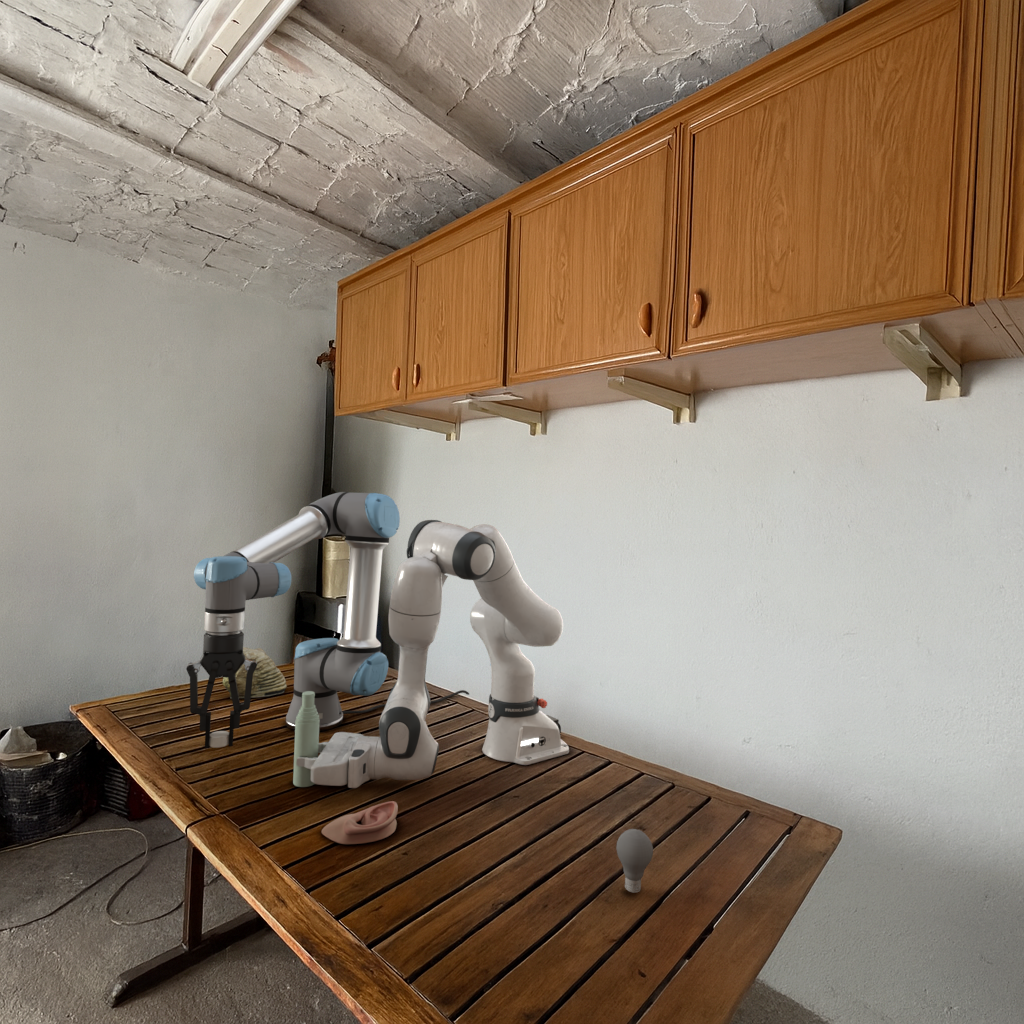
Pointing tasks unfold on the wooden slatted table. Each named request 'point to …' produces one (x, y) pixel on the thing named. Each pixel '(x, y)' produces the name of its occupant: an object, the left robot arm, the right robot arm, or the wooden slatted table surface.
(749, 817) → the wooden slatted table surface
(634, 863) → the light bulb
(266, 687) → the fossil
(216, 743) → the cap
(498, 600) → the right robot arm
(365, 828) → the anatomical model
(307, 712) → the bottle
